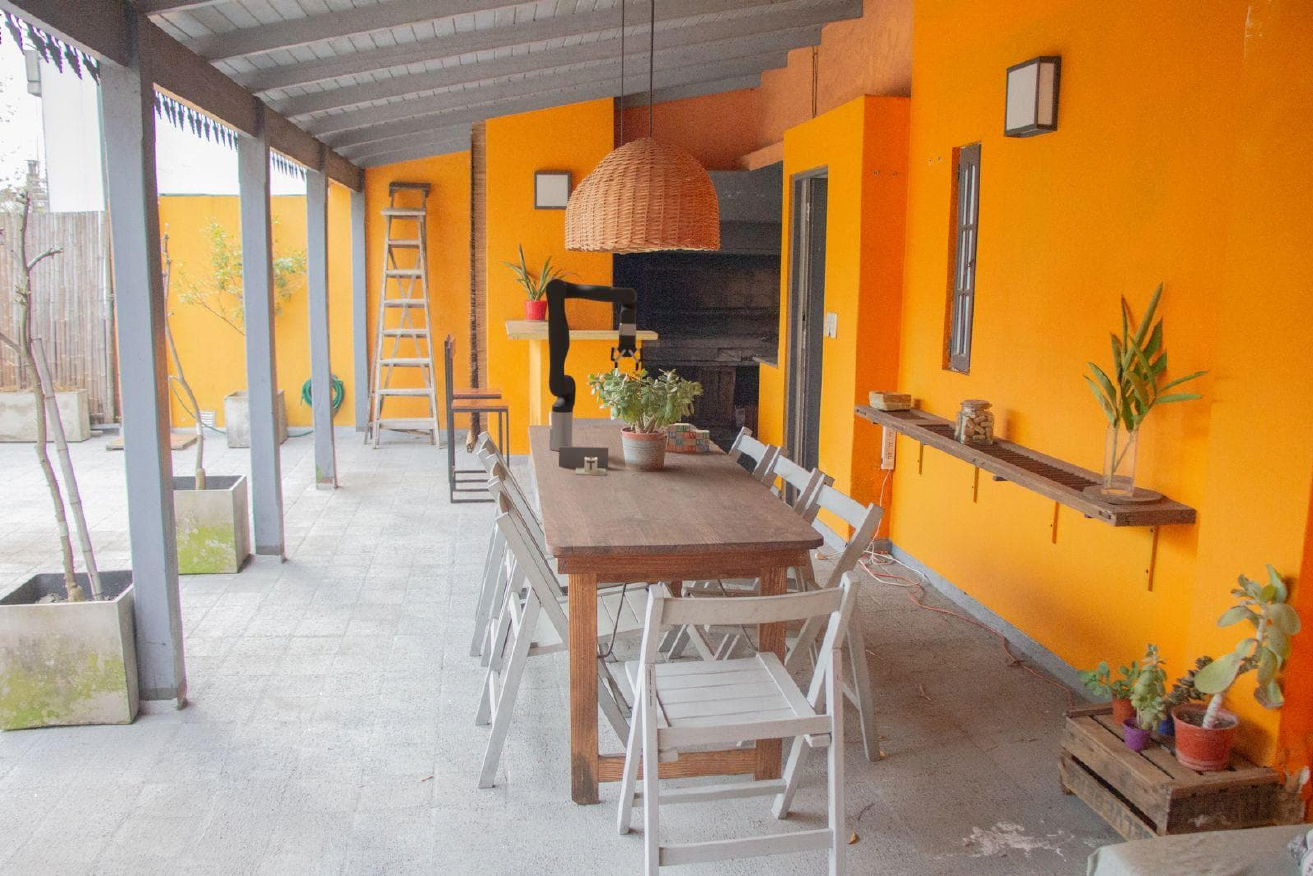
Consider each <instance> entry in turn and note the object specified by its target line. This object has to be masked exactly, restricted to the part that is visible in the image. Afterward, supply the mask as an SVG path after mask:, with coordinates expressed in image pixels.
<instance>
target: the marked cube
mask: <svg viewBox="0 0 1313 876" xmlns="http://www.w3.org/2000/svg"><path fill="white" fill-rule="evenodd" d="M583 468H584V472H597V468H598V467H597V457H585V465H584V467H583Z"/></svg>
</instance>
